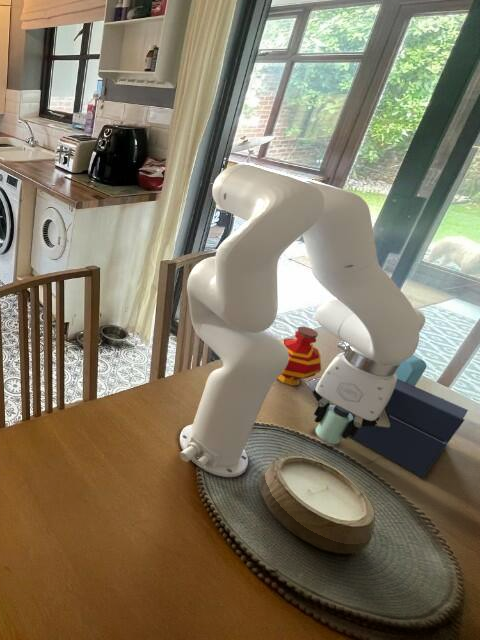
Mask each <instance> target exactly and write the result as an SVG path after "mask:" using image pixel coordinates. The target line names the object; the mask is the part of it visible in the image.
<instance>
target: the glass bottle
mask: <svg viewBox="0 0 480 640" xmlns="http://www.w3.org/2000/svg"><path fill="white" fill-rule="evenodd" d="M352 420H353V416H352V415H351V414H350V412H349V411H348V410H346V409H344V408H342V407H340V406H338V405H336V404H335V405H330V406H329V407H328V408H327V410H326V412H325V414H324V415H323V417H322V419H321V421H320V422H319V423H318V424H317V426H316V428H315V433H316V435H317V436H318V437H319V438H320V439H321V440H323V441H325V442H326V443H329V444H334V445H337V444H340V443H341V441H342V439H343V437H342V435H343V433H344V432H345V430H346V428H347V427H348V425H349V423H350V422H351V421H352Z"/></svg>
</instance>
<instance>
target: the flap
mask: <svg viewBox="0 0 480 640" xmlns="http://www.w3.org/2000/svg"><path fill="white" fill-rule="evenodd" d="M386 407H387V410H388V413H389V414H391V415H393V416H395V417H397V418H399V419H401V420H403V421H405V422H407V423H409V424H411V425H413V426H415V427H417V428H419V429H421V430H423V431H425V432H427V433H429V434H431V435H433V436H435V437H437V438H439V439H441V440H443V441H445V442H447V443H450V441H451V440H452V438H453V437H454V435H455V434H456V433H457V431H458V430H459V428H460V427H461V426H462V424H463V423H464V421H465V419H464V418H463V419H462V418H460V417H458V416H456V415H453V414H451V413H449V412H447V411H445V410H442V409H440V408H438V407H436V406H434V405H432V404H429V403H427V402H425V401H423V400H421V399H418V398H416V397H414V396H412V395H410V394H408V393H405V392H403V391H401V390H399V389H397V388H394V391H393V393H392V396H391V398H390V400H389V402H388V404H387V406H386Z"/></svg>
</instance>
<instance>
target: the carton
mask: <svg viewBox="0 0 480 640" xmlns="http://www.w3.org/2000/svg"><path fill="white" fill-rule="evenodd" d="M395 388H397V389H399V390H401V391H403V392H405V393H408V394H410V395H412V396H414V397H416V398H418V399H421V400H423V401H425V402H427V403H429V404H432V405H434V406H436V407H438V408H440V409H442V410H445V411H447V412H449V413H451V414H453V415H456V416H458V417H460V418H462V419H464V418H465V417H466V414H467V412H468V411H469V409H467V408H464V407H462V406H460V405H457V404H456V403H454V402H451V401H450V400H447V399H444V398H442V397H440V396H437V395H435V394H433V393H431V392H428V391H426V390H424V389H422V388H419V387H417V386H416V385H415V386H413V385H410V384H408V383H406V382H404V381H401V380H399V379H397V381H396V385H395ZM350 414H351V415H352V416H353V419H355V414H353V413H351V412H350ZM389 416H390V418H391V421H392V425H391V426H390V427H379V426H361V427H360V428H359V429H358V431H357V433H356V434H355V435H354V437H352V436H351V435H349V436H348V438H350V439H353V440H354V441H356V442H358V443H360V444H361V445H364V447H367V448H369V449H370V450H372V451H374V452H376V453H377V454H379V455H381V456H383V457H384V458H387V459H388V460H389V461H392V462H394V463H395V464H397V465H399V466H401V467H402V468H405V470H408V471H410V472H411V473H413V474H415V475H417V476H418V477H420V478H422V479H424V477H425V476H426V474H427V473H428V472H429V470H430V469H431V467H432V466H433V464H434V463H435V462H436V461H437V459H438V458H439V456H440V455H441V454H442V452H443V451H444V450H445V449H446V447H447V446H448V443H449V442H448V443H447V442H445V441H443V440H441V439H439V438H437V437H435V436H433V435H431V434H429V433H427V432H425V431H423V430H421V429H419V428H417V427H415V426H413V425H411V424H409V423H407V422H405V421H403V420H401V419H399V418H397V417H395V416H393V415H391V414H389ZM378 418H379V417H378Z"/></svg>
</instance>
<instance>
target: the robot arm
mask: <svg viewBox="0 0 480 640" xmlns="http://www.w3.org/2000/svg"><path fill="white" fill-rule="evenodd" d="M211 190H212V191H211V193H212V194H211V195H212V199H213V200H214V202H215V204H216V205H217V206H218V207H219V208H220V209H221V210H223V211H224V212H227V213H229V214H231V215H233V216H235V217H237V218H240V219H242V220H243V221H245V222H243V223H242V224H241V225H240V226H239V227H238V228H237V229H236V230H234V231H233V232H232V233H231V234H229V236H227V237H226V238H224V240H223V241H222V242H221V243H220V244H219V246H218V247H217V249H216V252H215V256H209V257H207V258H204V259H203V260H201V261H199V262H197V264H195V266H194V267H193V268H192V269H191V272H190V273H189V275H188V278H187V284H186V292H187V299H188V306H189V313H190V318H191V325H192V326H193V330H194V332H195V334H196V335H197V336H198V338H200V340H201V341H203V343H205V345H207V346H208V347H209V348H210V350H212V351H213V352H214V354H215V355H217V357H218V358H219V359H220V360H221V362H222V367H219V368H216V369H214V370H213V371H211V373H210V374H209V375H208V377H207V379H206V382H205V386H204V389H203V391H202V392H203V393H202V395H201V398H200V401H199V404H198V407H197V410H196V413H195V416H194V420H193V422H192V424H189V425H186V426H185V427H183V429H182V430H181V432H180V435H179V444H180V448H181V449H182V451H181V452H179V458H180V459H181V460H182V462H185V463H189V461H191V462H192V463H193V464H194V465H196V466H197V467H199V468H200V469H202V470H203V471H205V472H208V473H210V474H212V475H215V476H218V477H223V478H234V477H239V476H240V475H242V474H244V473H245V472H246V470H247V468H248V465H249V458H248V457H249V456H248V454H247V451H246V450H245V447H246V445H247V443H248V440H249V437H250V435H251V433H252V431H253V428H254V426H255V423H256V421H257V419H258V416H259V414H260V412H261V409H262V406H263V404H264V401H265V400H266V398H267V395H268V394H269V391H270V389H271V388H272V386H273V385H274V383H275V382H276V381H277V380H278V377H279V376H280V374H281V373H282V372H283V371H284V369H285V368H286V366H287V364H288V362H289V353H288V350H287V348H286V346H285V345H284V344H283V342H282V341H281V340H282V339H280V338H279V337H278V336H277V335H276V334H275V333H274V332H272V330H270V327H271V326H272V325H273V324H274V322H275V320H276V318H277V315H278V306H279V305H278V304H279V303H278V300H279V299H278V298H279V297H278V264H279V259H280V258H281V256H282V255H283V253H284V252H285V251H286V250H287V249H288V248H289V247H290V246H291V245H292V244H293V243H294V242H295V241H297V240H298V239H300V237H301V236H302V239H303V242H304V245H305V249H306V253H307V257H308V260H309V266H310V269H311V274H312V275H313V277H314V278H315V280H316V281H317V282H318V283H319V284H320V285H321V286H322V287H323V288H324V289H325V290H326V291H327V292H328V293H329V294H330V295H332V296H333V298H330V299H327V300H325V301H324V302H322V303H321V304H319V306H318V307H317V309H316V311H315V319H316V322H317V323H318V324H319V325H320V326H321V328H322V329H324V330H325V331H327V332H328V333H330V334H331V335H333V336H334V337H336V339H339V340H340V342H339V343H338V344H337V348H340V349H341V350H342V351H343V352H340V353H339V354H337V355H336V356H335V357H334V358H333V360H331V362H330V363H329V365H328V366H327V367H326V369H325V371H324V372H323V373H322V376H318V377H314V378H311V379H308V380H307V381H306V382H305V385H306V386H307V387H308V389H309V390H310V391H311V392H312V394H313V396H314V398H315V400H316V401H317V403H316V404H317V407H316V409H315V411H314V413H313V415H314V416H315V419H314V422H315V423H318V424H319V423H320V421H321V419H322V417H323V415H324V414H325V412H326V410H327V408H328V407H329V406H331V404H330V402H331V403H332V404H335V406H336V405H338V406H340V407H342V408H344V409H346V410H348V411H349V412H351V413H353V414H355V419H353V420H352V421H351V422H350V423H349V425H348V427H347V428H346V430H345V432H344V433H343V435H342V439H344V440H346V439H347V438H349V435H351V436H352V437H354V435H355V434H356V433H357V431H358V429H359V428H360V427H361V426H379V427H390V426H391V425H392V421H391V418H390V416H389V413H388V410H387V407H386V406H387V404H388V402H389V400H390V398H391V396H392V393H393V391H394V388H395V385H396V381H397V375H396V374H395V372H396V370H397V369H398V367H399V365H400V364H401V362H404V361H405V360H407V359H408V358H410V357H411V356H412V355H415V352H416V350H417V349H418V346H419V342H420V333H421V331H422V330H423V328H424V326H425V324H426V317H425V315H424V313H422V312H421V310H419V309H417V308H415V307H414V306H413V304H412V302H410V300H409V299H408V298H407V296H406V295H405V294H404V293H403V292H402V290H401V289H400V288H399V287H398V286H397V284H396V282H394V280H393V279H392V278H391V277H390V276H389V274H388V273H387V272H386V271H385V270H384V268H382V267H381V265H380V264H379V259H378V252H377V246H376V242H375V235H374V229H373V223H372V215H371V211H370V207H369V205H368V203H367V201H366V200H365V199H363V197H361V196H360V195H358V194H357V193H355V192H352V191H350V190H346V189H344V188H340V187H336V186H333V185H330V184H326V183H323V182H319V181H317V180H312V179H309V178H306V177H300V176H297V175H291V174H288V173H284V172H281V171H276V170H273V169H269V168H266V167H263V166H260V165H255V164H253V163H250V162H249V163H248V162H244V163H243V162H242V163H241V162H240V163H235V164H233V165H230V166H228V167H226V168H224V170H222V171H221V172H220V173H219V174H218V175H217V176H216V178H215V180H214V182H213V185H212V188H211ZM378 417H379V418H378ZM197 457H199V458H197ZM203 466H205V467H206V468H205V467H203ZM207 468H208V469H207Z"/></svg>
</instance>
